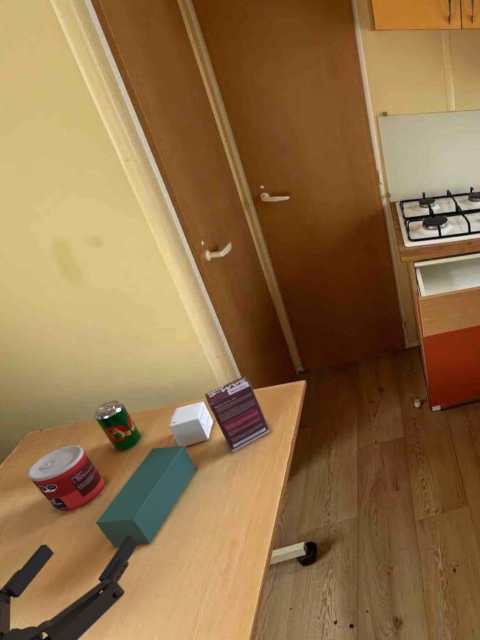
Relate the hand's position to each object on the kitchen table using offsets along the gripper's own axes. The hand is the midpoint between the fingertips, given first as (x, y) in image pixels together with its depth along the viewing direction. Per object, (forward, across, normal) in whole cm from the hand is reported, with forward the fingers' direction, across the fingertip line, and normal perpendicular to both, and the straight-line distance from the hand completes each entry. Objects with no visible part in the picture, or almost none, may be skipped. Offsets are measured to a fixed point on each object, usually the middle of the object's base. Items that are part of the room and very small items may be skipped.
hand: (90, 544), depth 73 cm
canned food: (+17, -18, -9) cm, 26 cm away
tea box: (+13, 0, -5) cm, 14 cm away
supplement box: (+29, +11, -10) cm, 32 cm away
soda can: (+30, -17, -9) cm, 36 cm away
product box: (+31, -2, -9) cm, 32 cm away
